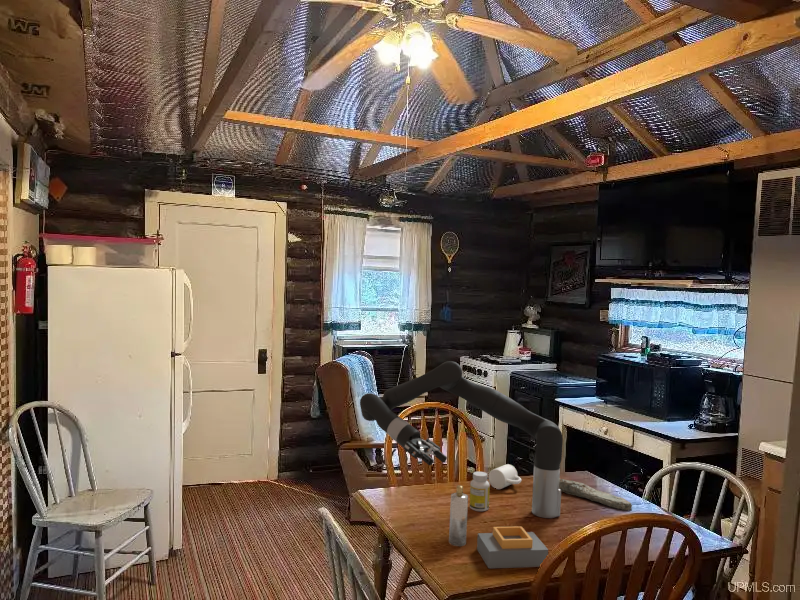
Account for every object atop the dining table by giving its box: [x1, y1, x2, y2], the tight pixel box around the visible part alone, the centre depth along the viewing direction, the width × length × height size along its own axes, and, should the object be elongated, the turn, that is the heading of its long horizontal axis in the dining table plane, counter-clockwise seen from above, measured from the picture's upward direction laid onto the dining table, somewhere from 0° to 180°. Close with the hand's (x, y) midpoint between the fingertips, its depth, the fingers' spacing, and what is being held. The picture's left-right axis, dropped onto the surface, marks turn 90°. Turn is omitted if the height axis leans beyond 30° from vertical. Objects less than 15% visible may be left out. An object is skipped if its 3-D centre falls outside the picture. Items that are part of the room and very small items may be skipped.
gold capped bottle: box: [448, 484, 469, 547], centre depth 181 cm, size 5×5×18 cm
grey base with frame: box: [476, 525, 549, 569], centre depth 173 cm, size 18×14×8 cm
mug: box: [488, 463, 522, 490], centre depth 234 cm, size 12×10×8 cm
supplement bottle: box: [469, 471, 491, 512], centre depth 210 cm, size 7×7×13 cm
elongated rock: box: [559, 478, 633, 511], centre depth 227 cm, size 35×5×10 cm
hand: (439, 461), depth 185 cm, fingers open, 8 cm apart
